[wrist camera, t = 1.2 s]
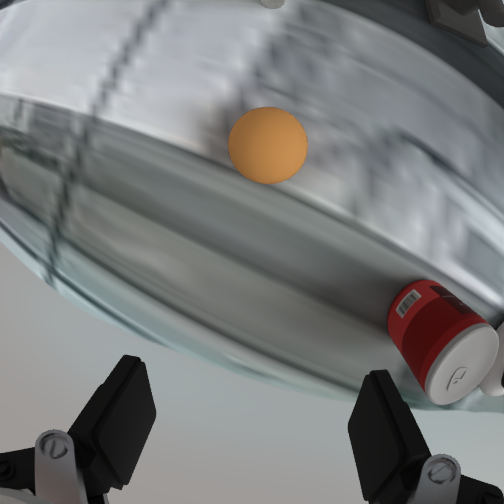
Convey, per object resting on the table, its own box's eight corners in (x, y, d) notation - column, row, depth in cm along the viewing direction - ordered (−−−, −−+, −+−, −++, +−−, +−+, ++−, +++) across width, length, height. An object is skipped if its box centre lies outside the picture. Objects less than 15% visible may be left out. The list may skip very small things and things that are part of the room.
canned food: (379, 346, 28) (416, 414, 18) (390, 279, 26) (444, 335, 16) (435, 337, 28) (480, 393, 17) (448, 274, 26) (510, 319, 15)
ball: (303, 117, 23) (314, 101, 17) (301, 184, 24) (311, 188, 19) (234, 114, 23) (224, 97, 17) (231, 181, 25) (220, 183, 19)
